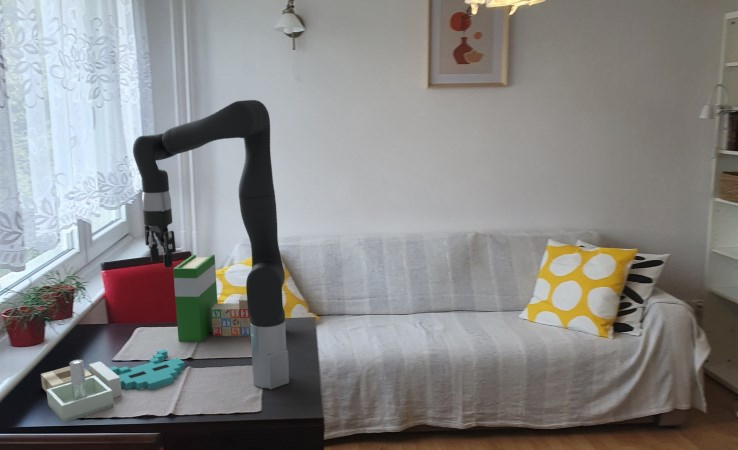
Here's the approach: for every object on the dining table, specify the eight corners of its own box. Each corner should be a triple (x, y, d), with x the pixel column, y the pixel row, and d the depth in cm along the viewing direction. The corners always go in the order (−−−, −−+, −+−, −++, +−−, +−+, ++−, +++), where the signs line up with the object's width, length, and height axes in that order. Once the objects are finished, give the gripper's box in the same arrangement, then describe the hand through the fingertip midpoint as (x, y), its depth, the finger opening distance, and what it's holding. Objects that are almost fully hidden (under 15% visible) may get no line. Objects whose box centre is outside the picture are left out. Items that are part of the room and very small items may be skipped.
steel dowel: (89, 403, 164) (85, 362, 162) (75, 407, 162) (71, 366, 160) (85, 399, 167) (81, 358, 164) (72, 402, 165) (67, 361, 162)
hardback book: (197, 322, 224) (193, 254, 219) (218, 322, 223) (214, 254, 218) (178, 341, 207) (173, 268, 202) (201, 342, 206) (196, 268, 201)
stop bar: (121, 394, 170) (120, 377, 169) (110, 398, 168) (108, 380, 167) (101, 378, 180) (100, 361, 179) (90, 381, 179) (89, 364, 178)
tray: (113, 406, 164) (112, 390, 163) (63, 422, 156) (61, 405, 155) (96, 390, 173) (94, 375, 172) (48, 405, 165) (46, 389, 164)
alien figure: (97, 375, 183) (125, 399, 169) (96, 368, 183) (124, 391, 168) (164, 356, 196) (196, 376, 182) (164, 349, 196) (195, 369, 181)
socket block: (93, 388, 174) (92, 374, 173) (54, 400, 168) (52, 386, 167) (80, 376, 182) (79, 363, 181) (42, 387, 175) (40, 374, 174)
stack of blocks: (212, 336, 211) (210, 300, 208) (216, 329, 217) (214, 294, 214) (278, 335, 211) (276, 299, 208) (280, 328, 217) (279, 293, 214)
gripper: (133, 206, 183) (138, 261, 186) (155, 212, 172) (159, 271, 176) (158, 202, 188) (163, 257, 191) (181, 208, 177) (185, 266, 181)
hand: (161, 264), depth 183 cm, fingers open, 8 cm apart
